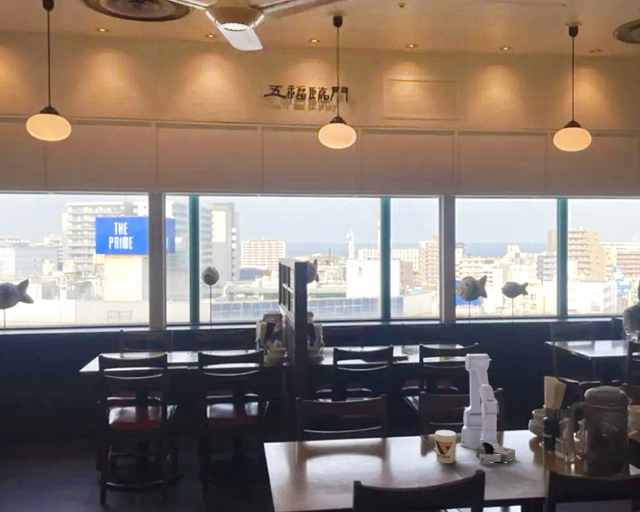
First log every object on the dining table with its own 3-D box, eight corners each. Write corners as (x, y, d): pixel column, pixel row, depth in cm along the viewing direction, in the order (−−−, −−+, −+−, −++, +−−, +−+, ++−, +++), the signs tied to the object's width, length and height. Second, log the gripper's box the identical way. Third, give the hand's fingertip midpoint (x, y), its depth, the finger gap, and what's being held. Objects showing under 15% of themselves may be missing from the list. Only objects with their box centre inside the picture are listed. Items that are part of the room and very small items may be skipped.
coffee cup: (431, 461, 275) (432, 434, 274) (438, 455, 283) (438, 428, 283) (452, 465, 270) (453, 437, 270) (458, 458, 279) (459, 431, 278)
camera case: (476, 456, 281) (476, 446, 281) (485, 451, 288) (485, 441, 288) (505, 463, 272) (506, 453, 272) (515, 458, 279) (515, 448, 279)
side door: (480, 463, 272) (480, 454, 272) (479, 462, 273) (479, 453, 273) (502, 463, 272) (502, 455, 272) (501, 462, 273) (501, 453, 273)
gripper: (474, 423, 280) (474, 454, 280) (487, 434, 265) (486, 466, 266) (489, 423, 280) (489, 453, 281) (503, 433, 266) (502, 465, 267)
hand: (489, 459), depth 273 cm, fingers closed, pressing on side door
